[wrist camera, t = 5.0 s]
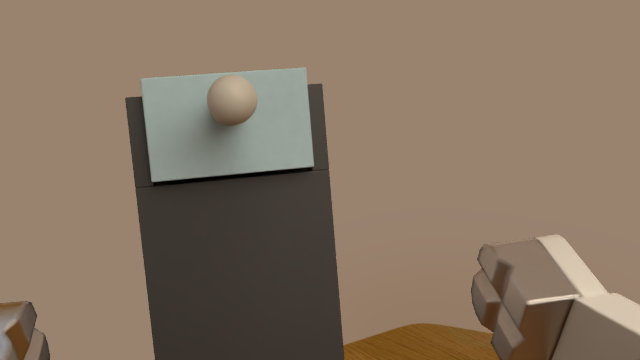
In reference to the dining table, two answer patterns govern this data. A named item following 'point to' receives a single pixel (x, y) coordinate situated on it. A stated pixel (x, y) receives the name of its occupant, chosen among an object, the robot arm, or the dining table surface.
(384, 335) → the dining table surface
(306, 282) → the box
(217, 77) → the tray
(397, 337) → the dining table surface
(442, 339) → the dining table surface
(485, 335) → the dining table surface
